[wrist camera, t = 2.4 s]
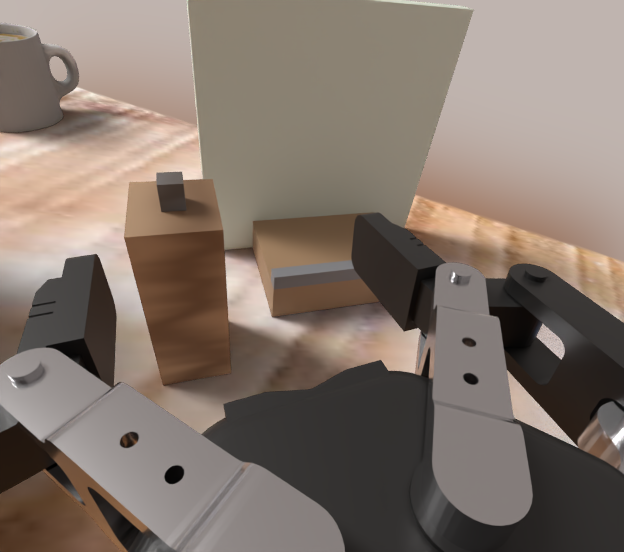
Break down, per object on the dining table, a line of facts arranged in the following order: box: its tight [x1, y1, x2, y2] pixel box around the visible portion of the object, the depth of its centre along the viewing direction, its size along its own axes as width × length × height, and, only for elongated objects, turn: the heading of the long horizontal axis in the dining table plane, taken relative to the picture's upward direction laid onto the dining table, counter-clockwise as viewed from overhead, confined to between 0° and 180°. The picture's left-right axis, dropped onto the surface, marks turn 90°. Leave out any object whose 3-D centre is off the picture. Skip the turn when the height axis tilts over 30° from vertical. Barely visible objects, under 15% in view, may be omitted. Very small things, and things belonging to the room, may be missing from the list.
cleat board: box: [187, 0, 473, 317], centre depth 30 cm, size 20×10×20 cm, turn 106°
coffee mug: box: [0, 23, 79, 132], centre depth 50 cm, size 13×10×10 cm
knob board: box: [124, 172, 231, 385], centre depth 24 cm, size 4×5×14 cm
